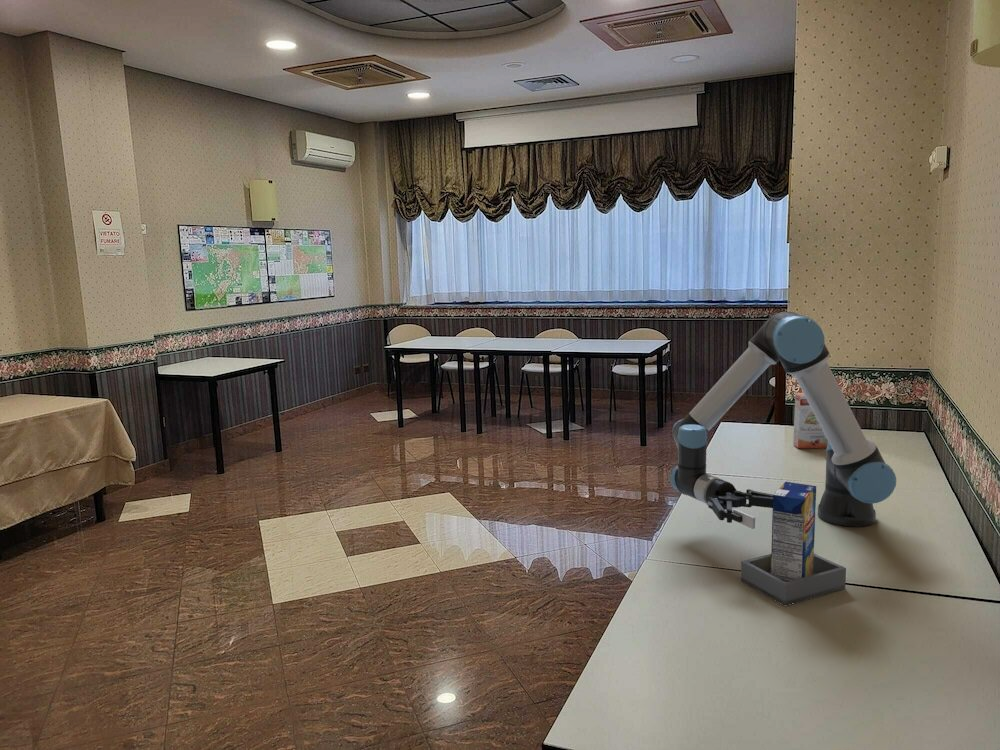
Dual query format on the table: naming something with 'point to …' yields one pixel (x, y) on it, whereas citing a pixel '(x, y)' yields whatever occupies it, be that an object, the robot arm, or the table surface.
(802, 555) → the beverage box
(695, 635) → the table surface
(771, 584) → the tray
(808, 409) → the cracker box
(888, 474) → the robot arm
